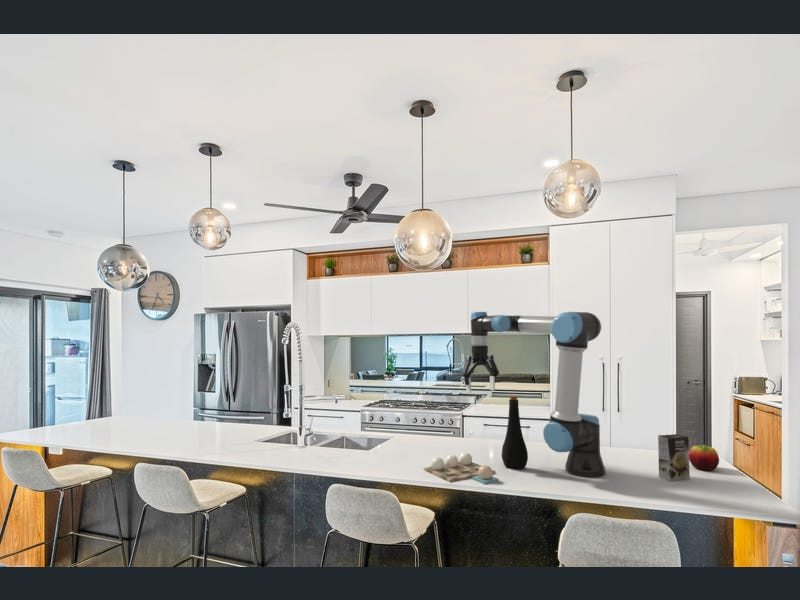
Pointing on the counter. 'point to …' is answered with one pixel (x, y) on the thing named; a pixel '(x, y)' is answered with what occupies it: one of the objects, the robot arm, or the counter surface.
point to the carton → (456, 472)
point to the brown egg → (485, 472)
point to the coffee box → (673, 457)
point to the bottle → (514, 439)
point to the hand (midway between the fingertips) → (480, 391)
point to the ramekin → (485, 480)
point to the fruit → (703, 457)
